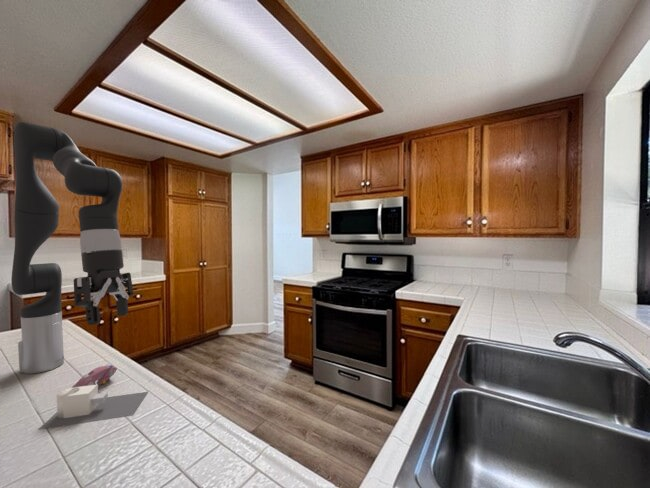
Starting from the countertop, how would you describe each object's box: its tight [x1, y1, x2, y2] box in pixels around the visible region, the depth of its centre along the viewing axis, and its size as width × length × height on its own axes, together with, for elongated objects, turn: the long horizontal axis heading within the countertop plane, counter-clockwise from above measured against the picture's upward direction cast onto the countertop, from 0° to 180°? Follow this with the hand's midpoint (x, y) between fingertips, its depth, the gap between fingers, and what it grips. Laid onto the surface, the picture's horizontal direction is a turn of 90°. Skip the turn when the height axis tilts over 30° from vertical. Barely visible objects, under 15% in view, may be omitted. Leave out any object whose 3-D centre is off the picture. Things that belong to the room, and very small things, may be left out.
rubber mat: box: [38, 391, 149, 431], centre depth 67 cm, size 18×10×1 cm, turn 105°
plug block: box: [56, 384, 109, 418], centre depth 67 cm, size 9×4×5 cm, turn 104°
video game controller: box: [70, 363, 117, 388], centre depth 77 cm, size 10×5×7 cm, turn 169°
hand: (109, 319), depth 65 cm, fingers open, 8 cm apart
